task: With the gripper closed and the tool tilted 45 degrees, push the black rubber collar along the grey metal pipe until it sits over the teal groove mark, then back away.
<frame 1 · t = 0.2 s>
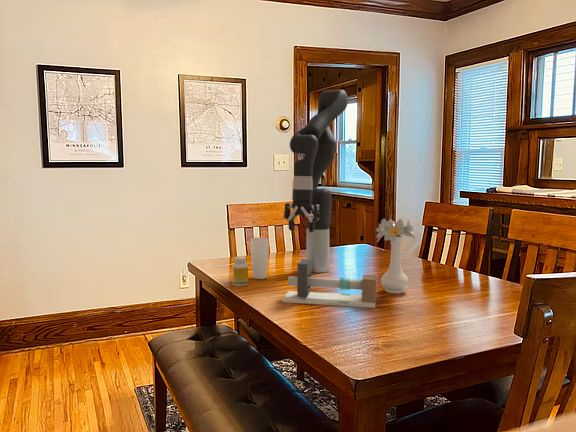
hand: (301, 231, 188), 18 cm above the table, tool pointing down, fingers open, 8 cm apart
flower vase: (392, 291, 170), on the table
supplement bottle: (240, 285, 177), on the table
pipe stand: (322, 299, 158), on the table
collar: (304, 277, 158), point 7 cm above the table, slide at -6.0 cm
drinking glass: (259, 278, 187), on the table
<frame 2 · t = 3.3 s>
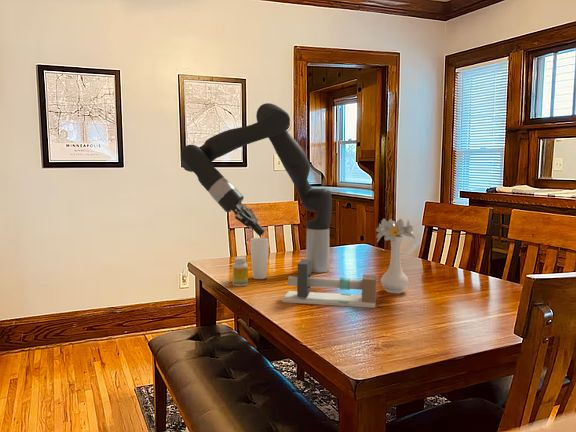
hand: (262, 233, 160), 20 cm above the table, tool tilted 45°, fingers closed
nothing on the table moved.
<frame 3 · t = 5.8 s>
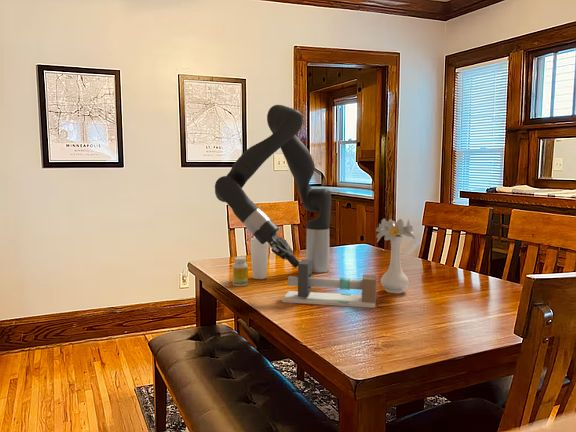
hand: (298, 265, 158), 11 cm above the table, tool tilted 45°, fingers closed
collar: (304, 277, 158), point 7 cm above the table, slide at -5.8 cm, touching gripper
everything else where it was.
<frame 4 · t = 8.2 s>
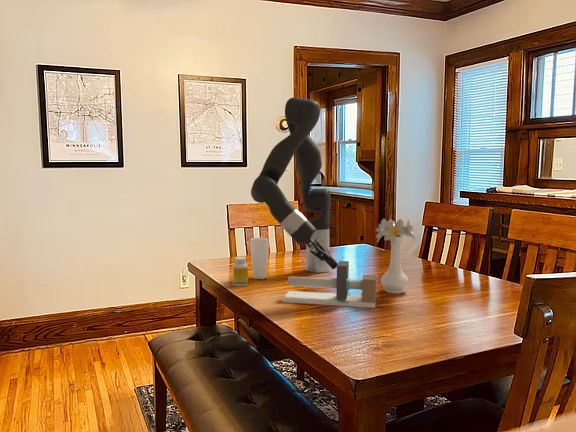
hand: (336, 267, 156), 11 cm above the table, tool tilted 45°, fingers closed
collar: (342, 279, 156), point 7 cm above the table, slide at 6.2 cm, touching gripper
everything else where it was.
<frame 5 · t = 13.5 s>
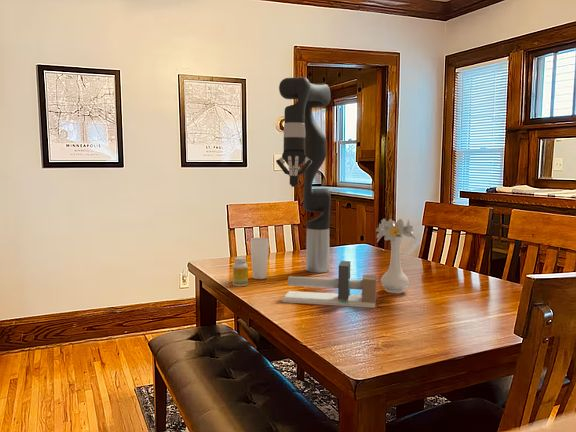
hand: (294, 186, 174), 35 cm above the table, tool pointing down, fingers closed
collar: (344, 279, 156), point 7 cm above the table, slide at 6.8 cm
everything else where it was.
at the end: collar slide at 6.8 cm; the gripper is holding nothing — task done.
